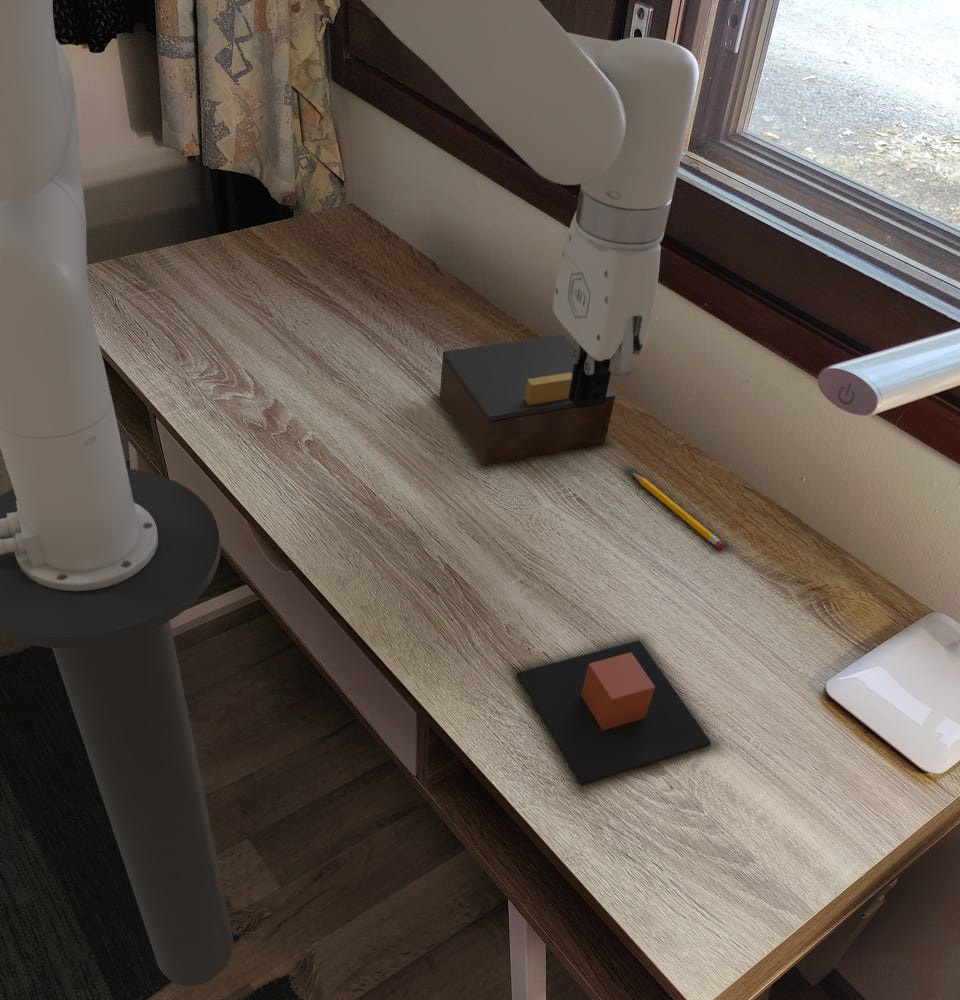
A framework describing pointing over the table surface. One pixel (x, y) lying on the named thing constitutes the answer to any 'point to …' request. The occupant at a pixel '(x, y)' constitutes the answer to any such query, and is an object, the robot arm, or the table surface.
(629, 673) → the block
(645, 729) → the mat
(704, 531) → the pencil
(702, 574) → the table surface
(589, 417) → the box
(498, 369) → the sliding lid
